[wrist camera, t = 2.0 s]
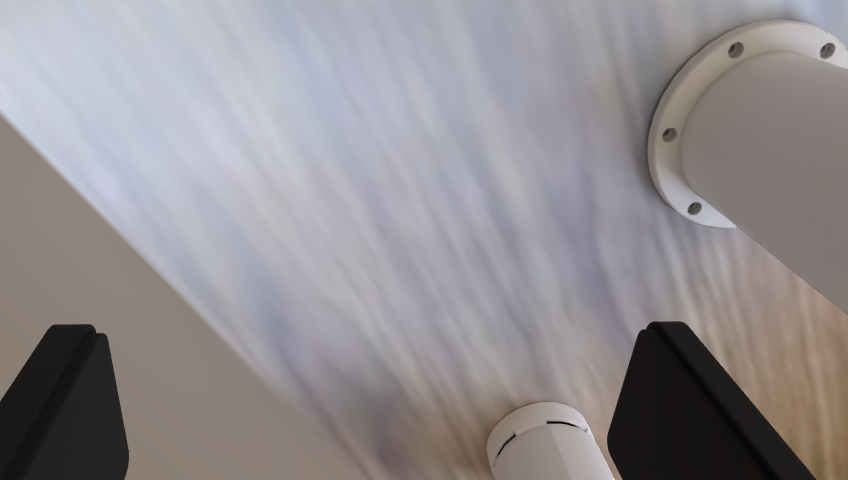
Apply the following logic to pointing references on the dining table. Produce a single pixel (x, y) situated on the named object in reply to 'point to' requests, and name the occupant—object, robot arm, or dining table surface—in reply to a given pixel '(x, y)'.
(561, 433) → the bottle
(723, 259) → the dining table surface
